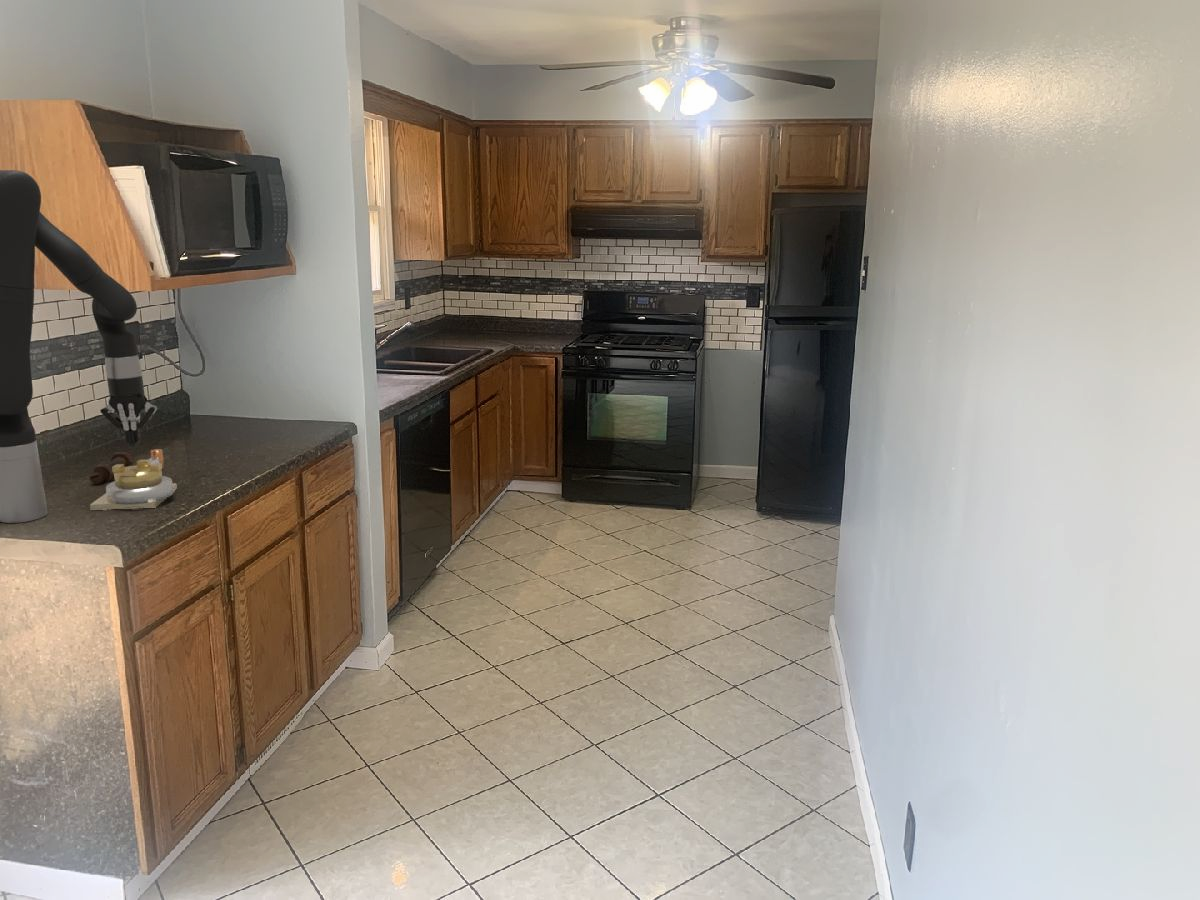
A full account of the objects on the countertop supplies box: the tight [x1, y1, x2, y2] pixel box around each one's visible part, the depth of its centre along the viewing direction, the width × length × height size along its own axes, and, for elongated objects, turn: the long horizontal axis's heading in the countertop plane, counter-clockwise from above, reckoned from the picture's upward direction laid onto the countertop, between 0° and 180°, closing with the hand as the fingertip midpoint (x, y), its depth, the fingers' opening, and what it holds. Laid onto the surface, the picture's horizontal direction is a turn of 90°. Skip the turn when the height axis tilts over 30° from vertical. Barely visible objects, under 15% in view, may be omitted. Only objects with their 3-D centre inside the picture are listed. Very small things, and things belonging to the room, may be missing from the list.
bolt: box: [89, 451, 135, 485], centre depth 233 cm, size 6×5×15 cm
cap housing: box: [89, 475, 178, 511], centre depth 214 cm, size 16×17×4 cm
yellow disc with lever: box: [112, 448, 165, 488], centre depth 216 cm, size 20×10×4 cm, turn 8°
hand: (134, 444), depth 219 cm, fingers closed
